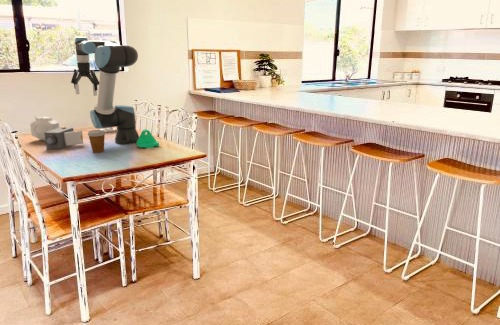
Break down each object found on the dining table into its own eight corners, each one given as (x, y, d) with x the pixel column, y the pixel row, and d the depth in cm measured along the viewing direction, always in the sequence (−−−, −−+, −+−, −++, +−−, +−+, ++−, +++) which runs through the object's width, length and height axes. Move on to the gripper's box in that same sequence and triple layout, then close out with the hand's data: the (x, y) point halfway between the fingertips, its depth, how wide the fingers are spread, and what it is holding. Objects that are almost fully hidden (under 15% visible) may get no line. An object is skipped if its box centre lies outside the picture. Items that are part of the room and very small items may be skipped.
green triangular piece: (140, 149, 243) (138, 132, 240) (136, 146, 249) (135, 130, 246) (159, 147, 248) (158, 130, 246) (155, 144, 255) (154, 128, 252)
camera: (41, 138, 272) (37, 114, 268) (64, 139, 268) (61, 115, 264) (28, 141, 262) (25, 117, 258) (52, 143, 258) (49, 118, 254)
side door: (65, 145, 247) (63, 132, 244) (65, 145, 247) (63, 132, 245) (83, 143, 253) (82, 130, 251) (83, 143, 253) (81, 130, 251)
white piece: (108, 132, 291) (106, 111, 287) (95, 131, 295) (93, 110, 290) (118, 129, 302) (116, 109, 298) (105, 128, 306) (103, 108, 301)
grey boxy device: (57, 150, 240) (55, 132, 237) (43, 149, 241) (41, 132, 238) (75, 143, 258) (72, 126, 255) (61, 142, 259) (59, 126, 256)
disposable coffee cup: (110, 150, 239) (108, 130, 235) (97, 154, 231) (95, 133, 227) (99, 148, 243) (97, 129, 240) (86, 152, 235) (83, 131, 232)
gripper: (103, 62, 263) (106, 95, 269) (70, 60, 269) (74, 92, 275) (96, 63, 256) (99, 96, 262) (63, 61, 262) (66, 94, 269)
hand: (86, 94), depth 269 cm, fingers open, 13 cm apart
